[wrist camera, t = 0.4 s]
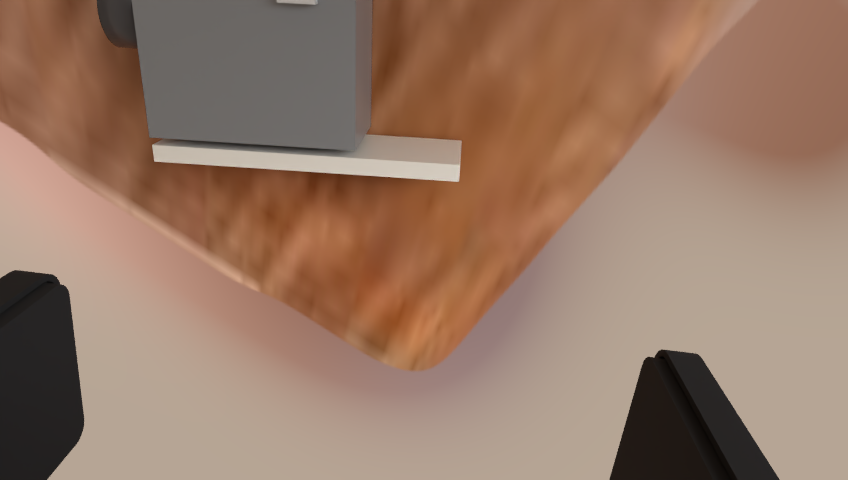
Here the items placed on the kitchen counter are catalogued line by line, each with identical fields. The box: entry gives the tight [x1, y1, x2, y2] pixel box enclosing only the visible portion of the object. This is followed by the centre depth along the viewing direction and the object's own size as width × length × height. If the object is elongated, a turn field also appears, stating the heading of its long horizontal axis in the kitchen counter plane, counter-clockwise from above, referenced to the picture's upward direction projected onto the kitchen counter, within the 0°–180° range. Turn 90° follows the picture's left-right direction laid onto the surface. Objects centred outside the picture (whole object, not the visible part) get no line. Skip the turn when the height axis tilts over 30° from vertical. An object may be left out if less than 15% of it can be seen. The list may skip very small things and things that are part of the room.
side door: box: [152, 134, 462, 182], centre depth 39 cm, size 1×18×6 cm, turn 87°
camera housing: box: [97, 0, 373, 151], centre depth 37 cm, size 12×14×7 cm
